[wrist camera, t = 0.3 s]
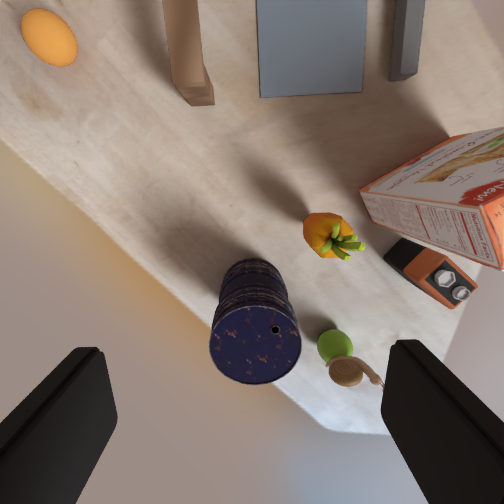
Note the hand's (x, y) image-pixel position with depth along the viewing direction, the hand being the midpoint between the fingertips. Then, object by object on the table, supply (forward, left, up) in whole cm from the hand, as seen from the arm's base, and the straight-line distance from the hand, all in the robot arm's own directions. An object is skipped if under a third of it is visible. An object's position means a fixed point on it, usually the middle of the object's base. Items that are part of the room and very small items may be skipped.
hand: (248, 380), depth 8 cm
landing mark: (-22, +9, -31) cm, 39 cm away
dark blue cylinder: (+11, 0, -31) cm, 33 cm away
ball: (-22, -21, -28) cm, 42 cm away
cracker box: (-4, +23, -31) cm, 39 cm away
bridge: (-22, -5, -31) cm, 38 cm away
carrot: (+1, +9, -31) cm, 32 cm away
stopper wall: (-22, +20, -31) cm, 43 cm away
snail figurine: (+21, +13, -31) cm, 39 cm away
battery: (+8, +24, -31) cm, 40 cm away
